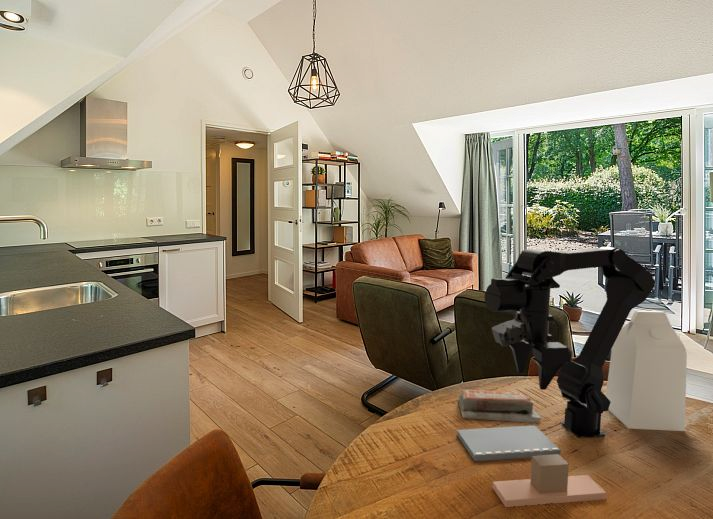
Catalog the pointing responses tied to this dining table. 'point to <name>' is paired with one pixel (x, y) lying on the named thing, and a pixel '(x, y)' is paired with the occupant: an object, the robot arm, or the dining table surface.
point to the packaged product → (497, 406)
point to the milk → (648, 374)
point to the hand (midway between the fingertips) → (531, 380)
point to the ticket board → (506, 443)
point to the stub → (548, 485)
